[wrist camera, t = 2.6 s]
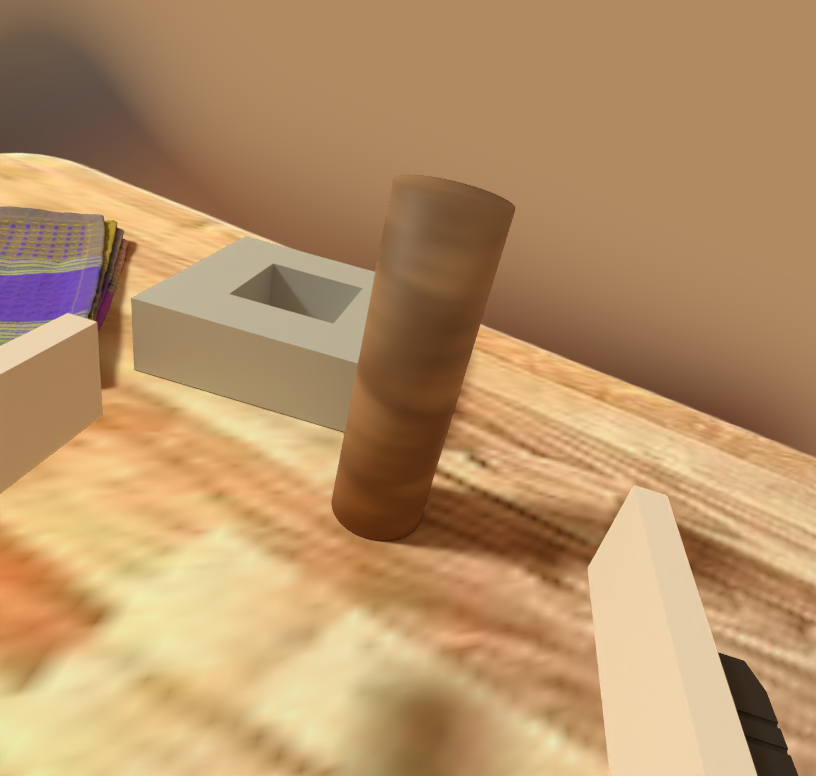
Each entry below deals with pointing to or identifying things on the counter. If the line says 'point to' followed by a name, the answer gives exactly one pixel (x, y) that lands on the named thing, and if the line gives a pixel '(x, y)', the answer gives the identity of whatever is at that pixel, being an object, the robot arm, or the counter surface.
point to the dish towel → (56, 267)
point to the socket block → (259, 329)
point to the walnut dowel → (416, 348)
